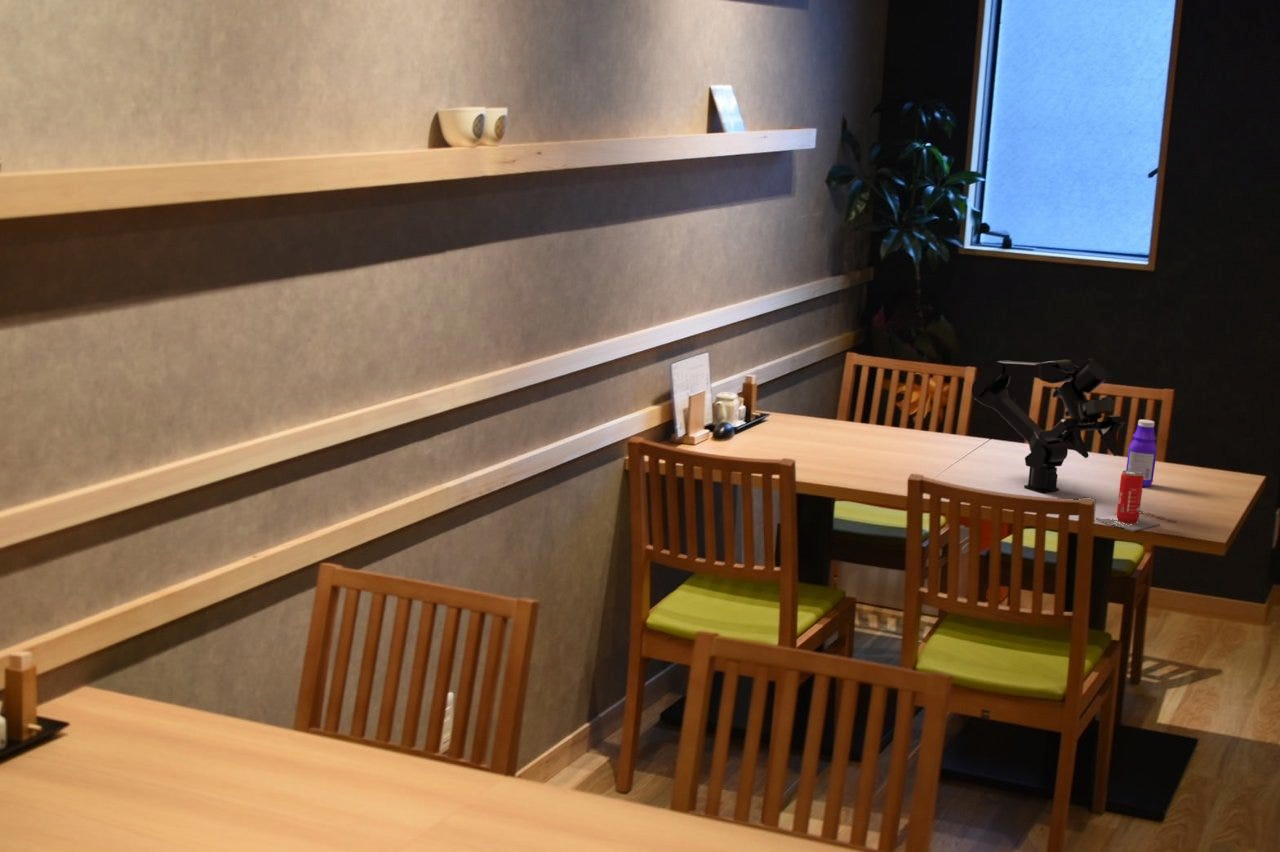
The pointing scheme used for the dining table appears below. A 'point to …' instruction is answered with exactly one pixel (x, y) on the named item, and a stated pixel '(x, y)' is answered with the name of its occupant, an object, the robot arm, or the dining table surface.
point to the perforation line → (1160, 517)
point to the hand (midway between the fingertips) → (1101, 456)
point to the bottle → (1143, 451)
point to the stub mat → (1135, 526)
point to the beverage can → (1130, 496)
